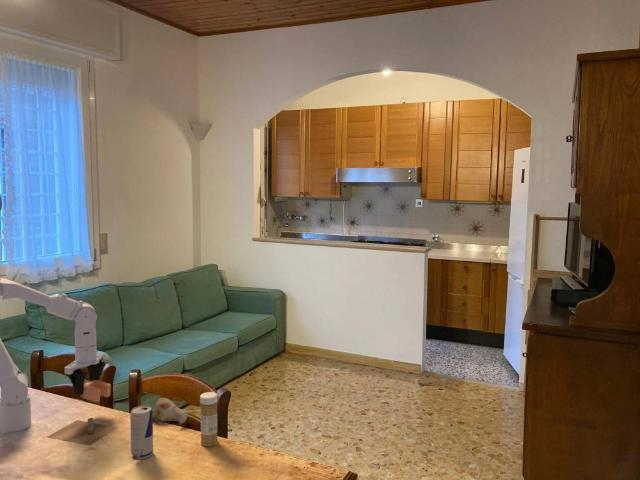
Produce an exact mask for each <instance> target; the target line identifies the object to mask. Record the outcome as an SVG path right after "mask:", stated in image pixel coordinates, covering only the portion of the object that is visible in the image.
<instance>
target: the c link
mask: <svg viewBox="0 0 640 480" xmlns="http://www.w3.org/2000/svg"><path fill="white" fill-rule="evenodd" d="M111 387H112V385H111V383H107V382H105V381H101V380H100V379H99V380H92V381H90V380H89V381H88V382H86V383H85V382H84V391H83V394H82V395H79V397H80V398H81V399H84V400H88V401H91V402H95V403H98V402H100V401H101V397H104V398H109V397H111V391H112V390H111V389H112V388H111Z"/></svg>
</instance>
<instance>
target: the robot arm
mask: <svg viewBox="0 0 640 480" xmlns="http://www.w3.org/2000/svg"><path fill="white" fill-rule="evenodd" d="M1 296H2V301H5V300H9V299H13V298H14V299H15V298H16V299H19V300H23V301H25V302H29V303H33V304H36V305H38V306H42V307H45V309H46V312H47V313H49V314H51V315H52V316H53V315H54V316H57V317H60V318H63V319H65V320H68V321H75V330H74V354H75V356H74V357H75V360H73V361H72V362H71V363H69V364H68V365H66V366H64V375H66V376H67V377H68V379H69V381H70V382H71V384H72V386H73V389H74V393H75V395H78V396H80V395H82V394H83V391H84V384H85V380H86V375H87V372H88V378H89V382H90V381H92V380H99V381H100V378H101V375H102V373H103V370H104V369H105V367H106V360H107V353H106V352H105V353H104V352H98V351H97V329H96V325H97V319H98V314H97V312H96V310H95V308H94V306H93V305H91V304H89V303H88V302H84V301H83V300H75V299H73V298H70V297H67V296H68V294H66V293H61V294H59V293H56V294H53V295H48V294H46V293H43V292H41V291H38V290H36V289H34V288H31V287H29V286H27V285H24V284H22V283H19V282H17V281H13V280H11V279H7V278H2V277H1V278H0V297H1ZM97 352H98V353H97ZM84 368H87V372H86V371H83V370H82V369H84ZM28 385H29V377H28V376H27V374H25V373H24V372H22V371H21V370H20V369H19V367H18V365H16V363H14V361H13V358H12V357H11V355H10V354H9V351H8V350H7V348H6V346H5V344H4V342H3V341H2V338H1V337H0V437H1V436H3V435H6V434H7V433H15V432H19V431H23V430H25V429H27V428H30V426H31V425H32V412H31V411H32V409H31V407H32V406H31V404H32V403H31V402H32V401H31V395H30V394H29V389H28V388H29V387H28Z"/></svg>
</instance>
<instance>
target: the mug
mask: <svg viewBox="0 0 640 480" xmlns="http://www.w3.org/2000/svg"><path fill="white" fill-rule="evenodd" d="M152 411H153V422H177V424H176V425H182V424H184V423H185V422H186V420H187V419H188V412H187V411H186V410H184V409H182V408H180V407H178V406H177V405H176V404H175V403H174V402H173V401H171V400H170V399H169V398H166V397H160V398H159V399H158V400H157V401H156V403H155V405H154V407H153V409H152Z"/></svg>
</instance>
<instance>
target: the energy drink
mask: <svg viewBox="0 0 640 480" xmlns="http://www.w3.org/2000/svg"><path fill="white" fill-rule="evenodd" d="M129 415H130V453H131V454H133V456H131V458H132V459H133V460H138V461H139V460H140V461H141V460H146V459H149V458H150V457H151V456H152V455H153V454H154V421H153V409H152V406H150V405H138V406H135V407H133V408H132V409H131V410H130V413H129Z"/></svg>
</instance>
